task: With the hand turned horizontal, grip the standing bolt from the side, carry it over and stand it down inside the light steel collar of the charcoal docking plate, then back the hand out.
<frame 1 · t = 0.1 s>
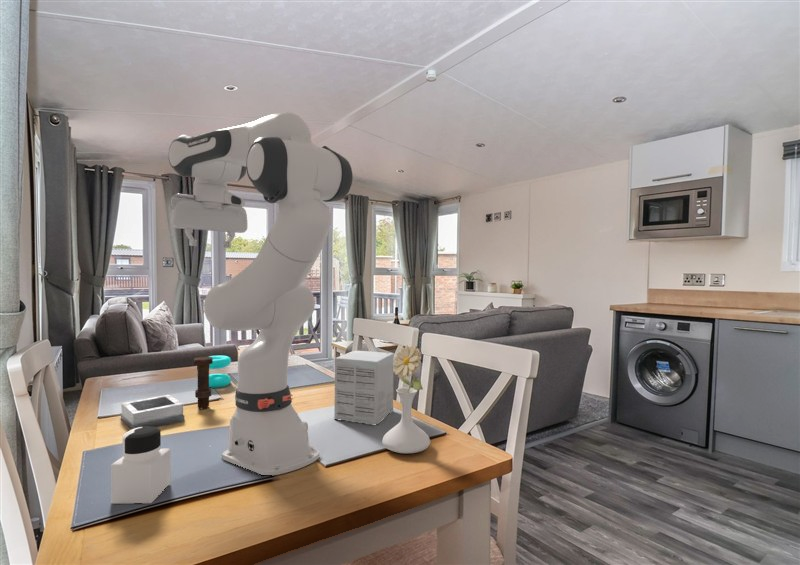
hand: (210, 246, 122), 48 cm above the table, tool pointing down, fingers open, 8 cm apart
flower in vase: (407, 450, 101), on the table
donuts: (216, 385, 155), on the table
bolt: (203, 408, 129), on the table
supplement box: (364, 416, 124), on the table
medicine bottle: (142, 495, 80), on the table
docking socket: (152, 419, 119), on the table
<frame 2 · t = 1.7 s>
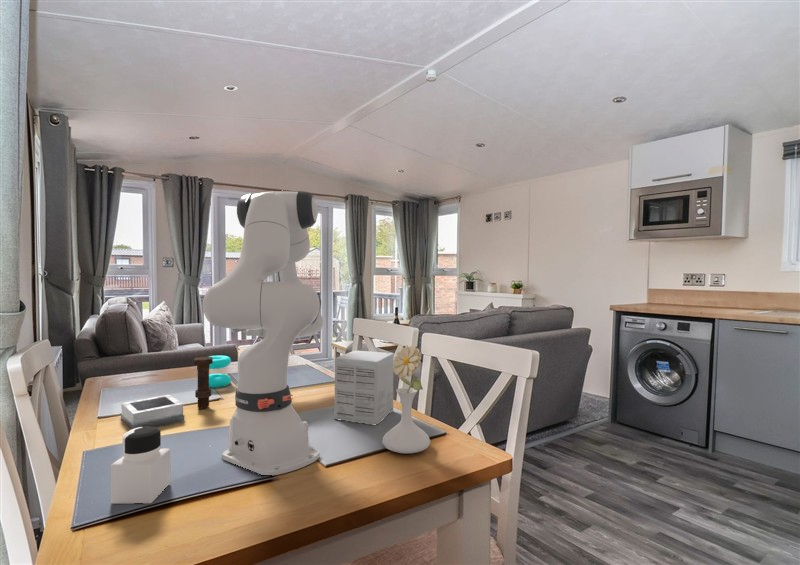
hand: (239, 331, 137), 22 cm above the table, tool horizontal, fingers open, 8 cm apart
nothing on the table moved.
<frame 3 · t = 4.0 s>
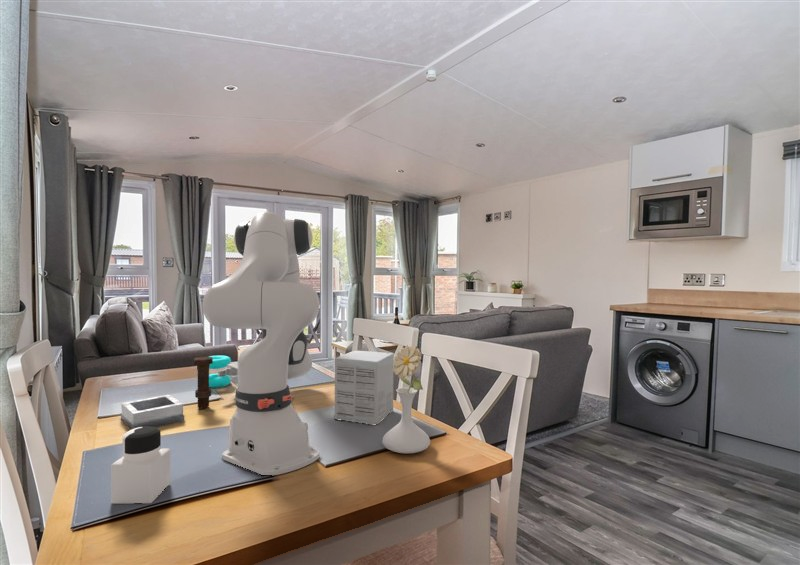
hand: (224, 376, 134), 8 cm above the table, tool horizontal, fingers open, 8 cm apart
nothing on the table moved.
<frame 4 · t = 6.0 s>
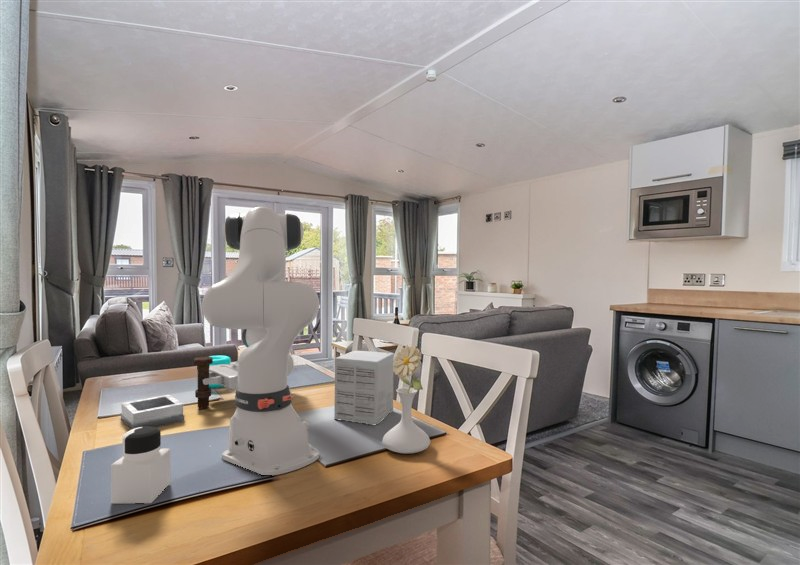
hand: (200, 380, 129), 9 cm above the table, tool horizontal, fingers closed on bolt, 3 cm apart
bolt: (203, 408, 129), on the table, touching gripper
everything else where it was.
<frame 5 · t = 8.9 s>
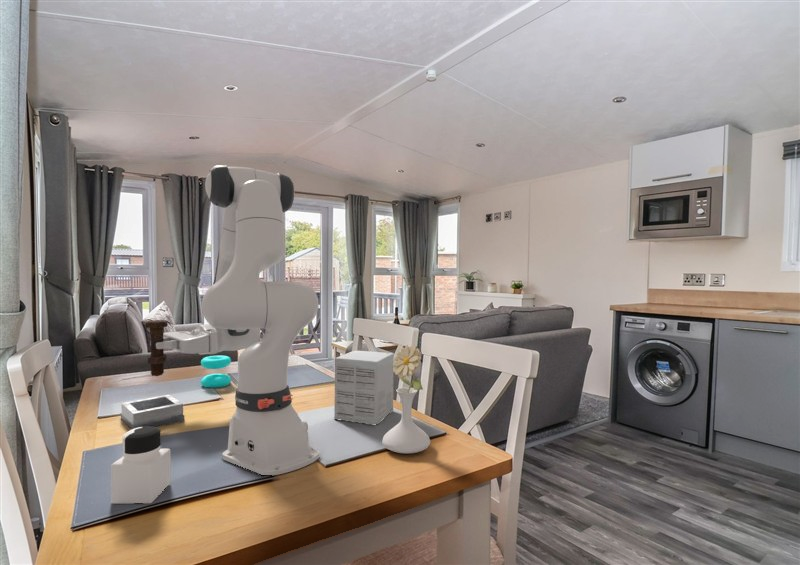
hand: (153, 344, 119), 21 cm above the table, tool horizontal, fingers closed on bolt, 3 cm apart
bolt: (157, 375, 119), point 12 cm above the table, touching gripper
everything else where it was.
when the fingers open (11 cm above the table, at t = 11.6 s): bolt drops 1 cm, resting on docking socket.
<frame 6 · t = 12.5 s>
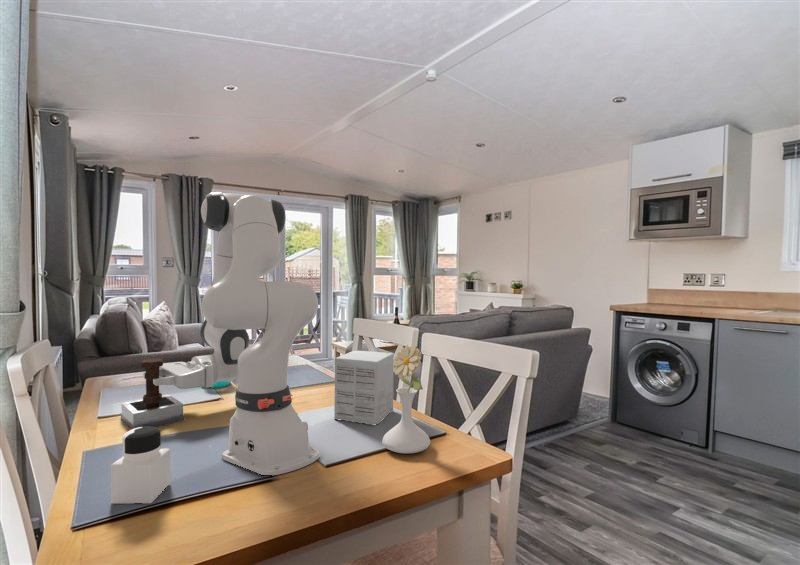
hand: (148, 378, 118), 11 cm above the table, tool horizontal, fingers open, 8 cm apart
bolt: (152, 415, 119), point 1 cm above the table, touching docking socket
everything else where it was.
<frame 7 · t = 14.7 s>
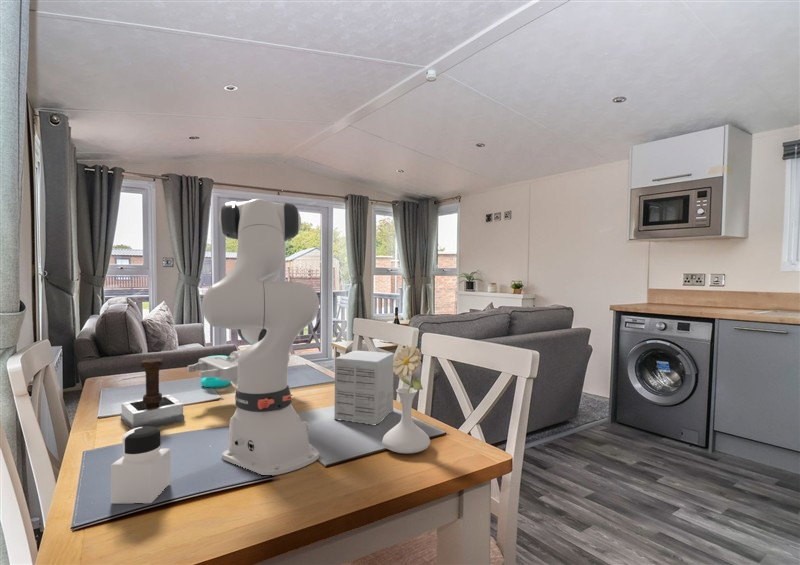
hand: (193, 371, 126), 12 cm above the table, tool horizontal, fingers open, 8 cm apart
nothing on the table moved.
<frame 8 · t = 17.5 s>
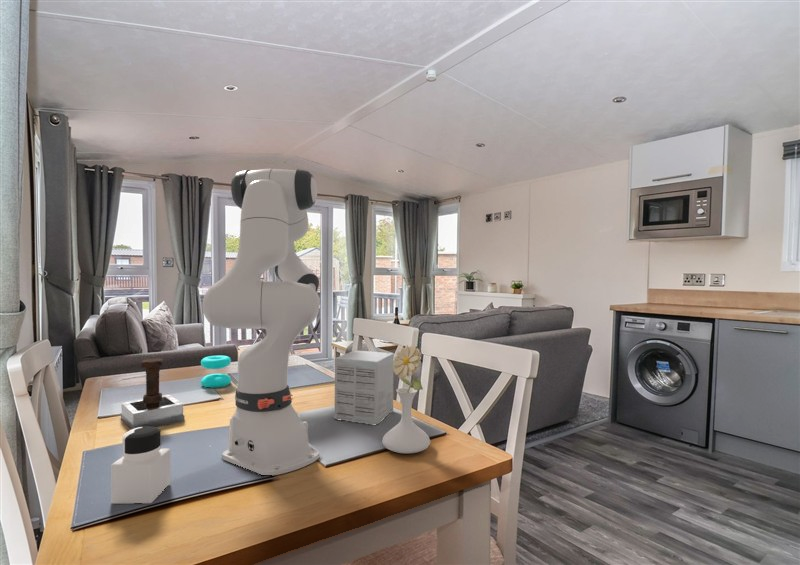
hand: (232, 307, 133), 30 cm above the table, tool horizontal, fingers open, 8 cm apart
nothing on the table moved.
at the end: bolt 0.1 cm off-centre on the docking socket, point 1.3 cm above the docking socket's base; bolt tilted 0°; the gripper is holding nothing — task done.
